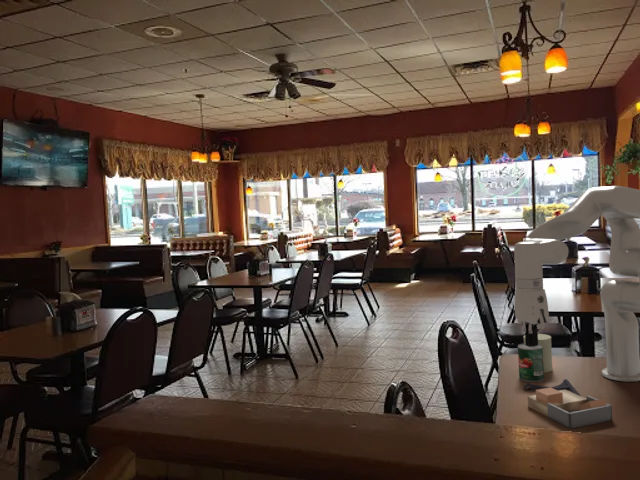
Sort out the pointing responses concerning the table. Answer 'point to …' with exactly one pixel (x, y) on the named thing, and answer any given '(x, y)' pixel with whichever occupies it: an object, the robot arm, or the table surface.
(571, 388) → the bracket
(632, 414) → the table surface
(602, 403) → the tile
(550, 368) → the can
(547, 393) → the tile
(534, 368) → the canned tomato
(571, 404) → the board
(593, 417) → the bus tub
